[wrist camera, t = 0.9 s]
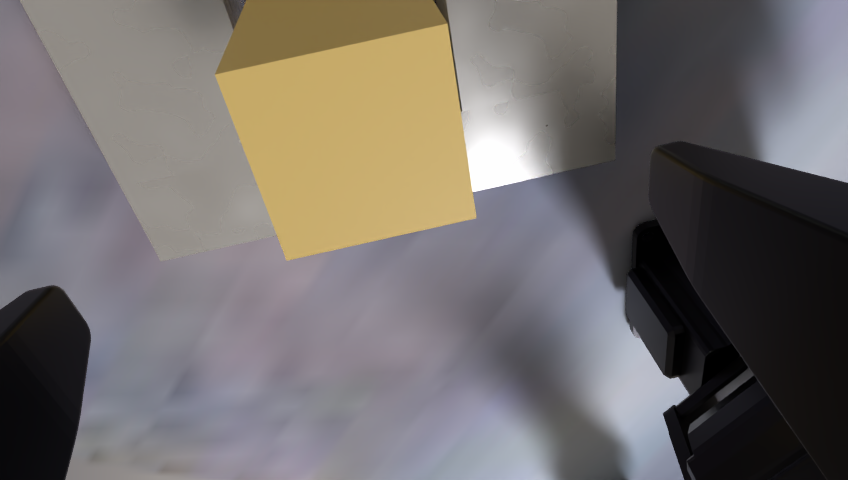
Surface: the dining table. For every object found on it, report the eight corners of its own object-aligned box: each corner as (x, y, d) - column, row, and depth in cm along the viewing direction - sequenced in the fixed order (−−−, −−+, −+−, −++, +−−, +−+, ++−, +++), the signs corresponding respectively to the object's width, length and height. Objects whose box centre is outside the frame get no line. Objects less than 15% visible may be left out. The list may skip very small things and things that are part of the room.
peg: (391, -67, 18) (447, 23, 10) (415, 61, 21) (476, 218, 13) (262, -38, 18) (214, 74, 10) (300, 87, 21) (286, 260, 12)
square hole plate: (582, -279, 16) (620, -293, 14) (589, 130, 23) (615, 160, 21) (-12, -151, 16) (-61, -148, 14) (175, 222, 23) (161, 261, 21)
